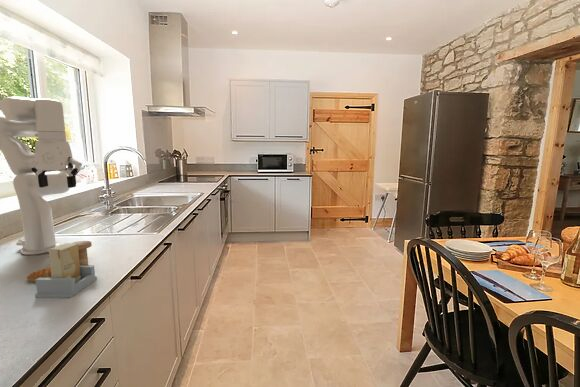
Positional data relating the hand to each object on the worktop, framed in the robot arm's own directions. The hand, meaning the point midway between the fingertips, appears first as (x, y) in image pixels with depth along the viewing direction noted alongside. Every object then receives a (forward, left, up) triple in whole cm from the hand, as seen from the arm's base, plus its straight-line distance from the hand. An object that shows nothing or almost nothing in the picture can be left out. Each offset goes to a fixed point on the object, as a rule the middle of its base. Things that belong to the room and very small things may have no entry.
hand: (58, 187), depth 104 cm
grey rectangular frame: (+13, -18, -28) cm, 36 cm away
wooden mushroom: (+10, -7, -28) cm, 31 cm away
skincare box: (+13, -18, -28) cm, 35 cm away
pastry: (+2, -12, -29) cm, 31 cm away
